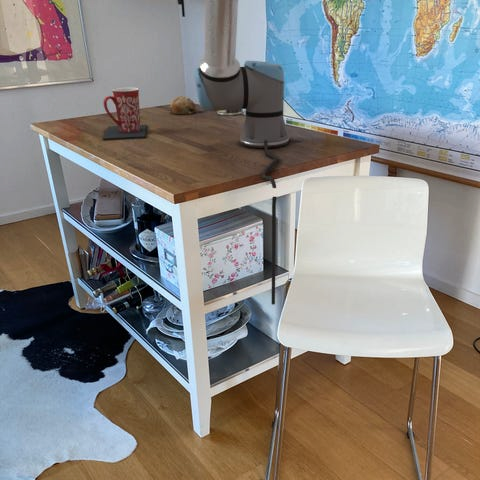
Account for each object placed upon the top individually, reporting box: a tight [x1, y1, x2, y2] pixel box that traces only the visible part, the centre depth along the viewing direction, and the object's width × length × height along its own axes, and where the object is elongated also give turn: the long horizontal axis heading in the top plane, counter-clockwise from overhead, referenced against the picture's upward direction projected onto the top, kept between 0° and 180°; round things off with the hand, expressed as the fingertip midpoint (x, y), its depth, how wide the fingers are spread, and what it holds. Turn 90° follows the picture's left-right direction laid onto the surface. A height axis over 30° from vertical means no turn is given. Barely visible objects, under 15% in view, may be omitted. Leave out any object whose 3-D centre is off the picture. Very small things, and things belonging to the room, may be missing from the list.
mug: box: [103, 87, 142, 132], centre depth 179 cm, size 13×9×14 cm
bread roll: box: [169, 95, 197, 115], centre depth 212 cm, size 10×10×8 cm
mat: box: [102, 124, 148, 141], centre depth 182 cm, size 20×14×1 cm
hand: (204, 16), depth 168 cm, fingers open, 13 cm apart
